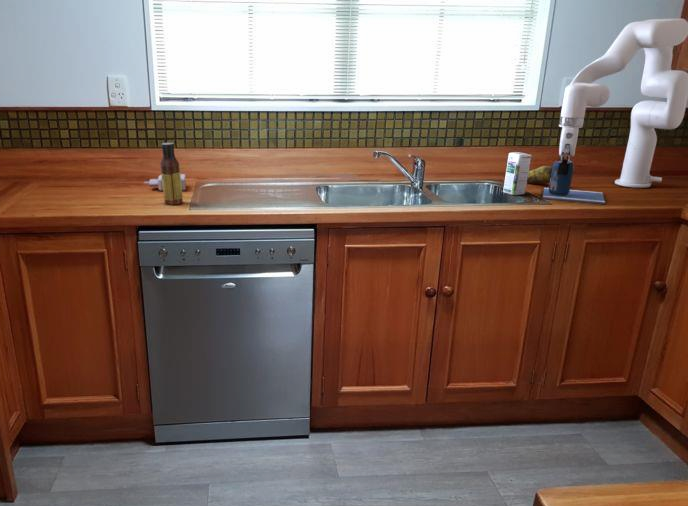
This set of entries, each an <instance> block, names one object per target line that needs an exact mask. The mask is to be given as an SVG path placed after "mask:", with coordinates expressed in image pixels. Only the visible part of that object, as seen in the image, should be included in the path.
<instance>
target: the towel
mask: <svg viewBox="0 0 688 506" xmlns="http://www.w3.org/2000/svg"><path fill="white" fill-rule="evenodd" d="M542 200H550V201H563V202H572V203H583V204H584V203H585V204H593V205H595V204H597V205H606V200H605V197H604V193H603V192H602V191H591V190H580V189H570V191H569V193H568V194H567V195H566V196H554V195H551V194H550V192H549V187H543V192H542Z"/></svg>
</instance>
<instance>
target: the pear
mask: <svg viewBox="0 0 688 506" xmlns="http://www.w3.org/2000/svg"><path fill="white" fill-rule="evenodd" d="M552 168H553V165H542V166H540V167H537V168H534V169H532V170H531V169H530V170H529V172H528V178H527V184H533V185H538V186H539V185H540V186H541V185H546V184H550V180H551V174H552Z"/></svg>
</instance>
